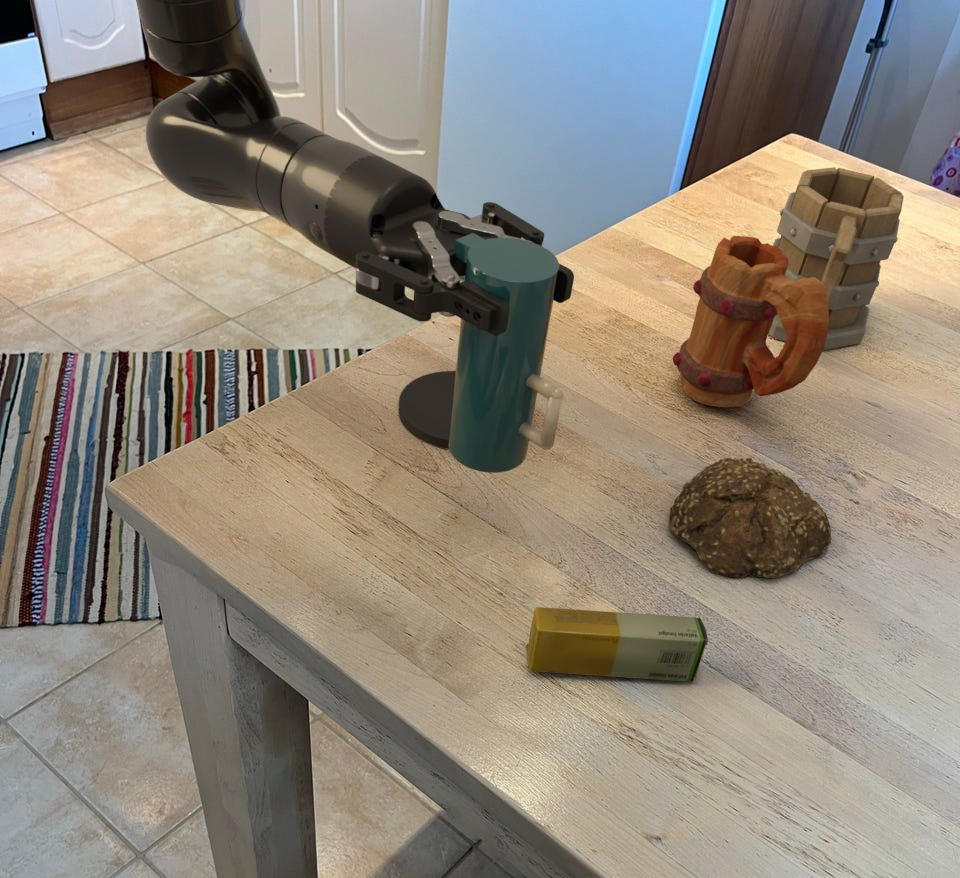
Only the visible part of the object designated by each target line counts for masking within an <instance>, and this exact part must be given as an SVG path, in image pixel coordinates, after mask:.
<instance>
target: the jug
mask: <svg viewBox="0 0 960 878" xmlns="http://www.w3.org/2000/svg"><path fill="white" fill-rule="evenodd" d="M521 239H522V238H521ZM521 239H514V238H492V239H487V240H485V239H484V238H482V237H480V236H478V235H476V234H474V233H472V234H469V235H467V236H464V237H462V238H459V239H456V240H455V248H454V253H455V254H456V256H455V257H456V258H457V259H459V260H461V261H463V262H464V263H466V274H465V276H464V281H466V280H468V281H470V282H472V283H474V284H475V285H477V286H479V287H481V288H483V289H485V290H487V291H488V292H490V293H492V294H494V295H496V296H498V297H499V298H501V299H503V300H505V301H506V302H507V303H508V305H509V317H508V324H507V330H506V331H505V332H503V333H501V334H499V335H498V336H494V335H492V334H490V333H489V332H487V331H484V330H481V329H479V328H477V327H475V326H474V325H472V324H470V323H469V322H466V321H464V320H463V319H461V318H460V323H459V324H460V325H459V335H458V345H457V354H456V355H457V356H456V365H455V371H456V374H455V384H454V394H453V404H452V414H451V424H450V434H449V444H448V446H449V449H448V450H449V453H450V454H451V456H452V457H453V459H455V460H456V461H457V462H458V463H460V465H462V466H464V467H466V468H469V469H470V470H474V471H477V472H481V473H488V474H489V473H492V474H495V473H496V474H497V473H504V472H509V471H512V470H515V469H516V468H518V467H519V466H521V465H522V464H523V463H524V461H525V460H526V458H527V455H528V450H529V444H530V442H531V443H533V444H535V445H536V446H538V447H539V448H541V449H542V450H544V451H549V450H551V449H553V447H554V445H555V441H556V440H555V439H556V434H557V429H558V424H559V419H560V413H561V408H562V403H563V399H564V392H563V389H562V388H560V387H559V386H557V385H556V384H554V383H552V382H550V381H548V380H547V379H545V378H544V377H542V376H541V374H542V369H543V363H544V357H545V352H546V345H547V340H548V334H549V328H550V323H551V316H552V310H553V305H554V294H555V288H556V282H557V277H558V271H559V264H560V262H559V260H558V258H557V256H556V255H555V254H554V253H553V252H552V251H550V250H549V249H548V248H545V247H544V246H543V245H542V246H540V245H538V244H535V243H532V242H529V241H525V240H521ZM538 394H539V395H541V396H543V397H544V398H546V399H547V401H546V405H545V406H546V407H545V411H544V416H543V422H542V428H541V429H539V428H537V427H536V426H534V425H533V420H534V414H535V409H536V403H537V398H538Z"/></svg>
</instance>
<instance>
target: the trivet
mask: <svg viewBox="0 0 960 878" xmlns="http://www.w3.org/2000/svg"><path fill="white" fill-rule="evenodd" d="M455 374H456V370H442V371H435V372H430V373H426V374H424V375H421V376H419V377H416V378H415V379H412V381H410V382H409V383H407V384H406V385H405V386H404V388H403V389H402V391H401V392H400V395H399V397H398V409H397V410H398V417H399V419H400V422H401V424H402V425H403V427H404V428H405V430H406V431H408V432H409V433H410V434H411V435H412V436H414V437H415V438H417V439H418V440H420V441H422V442H424V443H425V444H428V445H431V446H433V447H437V448H441V449H443V450H444V449H445V450H449V446H448V444H449V434H450V424H451V414H452V404H453V394H454V384H455Z"/></svg>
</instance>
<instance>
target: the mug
mask: <svg viewBox="0 0 960 878" xmlns="http://www.w3.org/2000/svg"><path fill="white" fill-rule="evenodd" d="M787 267H788V258H787V257H786V256H785V255H782V251H781V250H780V249H779V248H778V247H776V246H773V244H770V243H768V242H767V243H762V242H761V241H760V239H759V238H757V237H753V236H747V235H746V236H744V235H733V236H731V237H730V239H728V238H726V237H723V238H722V239H721V240H720V241H719V242H718V243H717V245H716V247H715V251H714V253H713V256H712V260H711V263H710V265H709V266H707V267H706V268H705V269H704V270H703V272H702V273H701V276H700V279H697V280H696V281H694V283H693V285H692V289H693V292H694V293H695V294H696V295H698V296H699V299H698V302H697V305H696V310H695V315H694V319H693V324H692V327H691V331H690V334H689V337H688V338H687V339H686V340H684V341H683V342H682V344H681V345H680V348H679V351H678V352H676V353H674V354H673V356H672V362H673V365H674V366H676V368H677V370H678V372H679V376H678V377H679V380H678V381H679V384H680V385H681V388H682V390H683V391H684V393H685V394H686V396H687V397H689V398H691V399H692V400H693V401H694V402H697V403H700V404H701V405H706V406H709V407H716V408H722V407H723V408H733V407H740V406H743V405H745V404H747V403H748V402H749V401H750V400H751V398H752V396H753V392H754V393H755V394H756V396H758V397H760V398H761V397H767V396H773V395H777V394H781V393H784V392H786V391H789V390H792V389H794V388H795V387H796V386H798V385H799V384H801V383H803V382H804V381H806V380H807V378H808V377H809V375H810V374H811V373H812V371H813V369H814V368H815V367H816V366H817V364H818V361H819V359H820V357H821V355H822V353H823V351H824V350H823V349H824V346H825V341H826V337H827V334H828V324H829V313H828V303H827V296H826V290H825V288H824V286H823V284H822V283H821V282H820V281H819V280H818V279H817V278H815V277H811V278H803V279H800V280H795V281H794V280H792V279H790V278H788V277H786V276H785V274H786V270H787ZM777 314H778V315H779V318H780V320H781V323H782V325H783V327H784V329H785V331H786V334H787V340H786V342H785V341H784V344H783V346H782V347H781V350H780V352H779V353H778V355H777V356H776V357H775V356H774V354H773V353H772V351H771V350H770V348H769V346H768V345H767V344H766V343H767V339H768V336H769V334H768V333H769V331H770V328H771V326H772V323H773V320H774V317H775V316H776V315H777Z"/></svg>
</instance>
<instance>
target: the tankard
mask: <svg viewBox="0 0 960 878" xmlns="http://www.w3.org/2000/svg"><path fill="white" fill-rule="evenodd" d="M903 203H904V194H903V193H902V192H901V191H899V190H898V189H896V188H895V187H893V186H892V185H890V184H888V183H887V182H885V180H882V178H879V177H875V176H874V175H871V174H868V173H864V172H863V173H862V172H859V171H854V170H850V169H846V168H843V167H837V168H836V167H824V168H816V169H806V170H805V171H803V172H802V173H801V175H800V178H799V180H798V183H797V186H796V189H795V191H793V192H790V193H789V195H788V197H787V200H786V202H785V206H784V208H781V209H780V211H779V216H780V219H779V223H778V226H777V229H776V232H777V233H778V235H780V237H779V238H775V239H774V241H773V244H772V246H776V247H778V248H779V249H780V250H781V251H782V255H785V256H786V257H787V258H788V267H787V270H786V274H785V276H786V277H788V278H790V279H792V280H794V281H795V280H800V279H803V278H811V277H815V278H817V279H818V280H819V281H820V282H821V283H822V284H823V286H824V288H825V290H826V296H827V303H828V313H829V324H828V334H827V337H826V341H825V346H824V349H823V351H829V350H832V349H839V348H844V347H849V346H853V344H855V345H859V344H861V342H862V340H863V338H864V336H865V333H866V329H867V324H868V319H869V314H870V308H869V307H868V305H870V304H871V301H872V298H873V295H874V294H875V292H876V289H877V288H878V287H879V286H880V281H879V277H880V272H881V267H882V266H881V261H887V260H889V259H890V258H889V257H890V255H891V253H892V251H893V248H894V246H895V244H896V243H897V242H898V232H899V227H900V223H901V222H900V221H901V219H900V215H901V213H902V208H903ZM768 336H770V337H771V338H772V339H774V340H778V341H781V342H784V343H785V342H786V340H787V334H786V331H785V329H784V327H783V325H782V323H781V320H780V318H779V315H778V314H777V315H776V316H775V317H774V320H773V323H772V326H771V328H770V331H769V333H768ZM848 345H849V346H848ZM843 346H844V347H843ZM838 347H839V348H838Z"/></svg>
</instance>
